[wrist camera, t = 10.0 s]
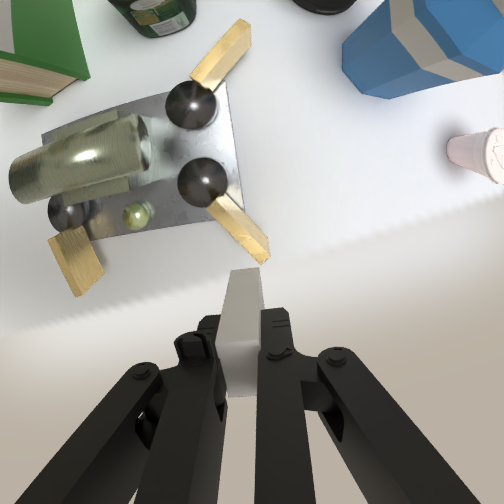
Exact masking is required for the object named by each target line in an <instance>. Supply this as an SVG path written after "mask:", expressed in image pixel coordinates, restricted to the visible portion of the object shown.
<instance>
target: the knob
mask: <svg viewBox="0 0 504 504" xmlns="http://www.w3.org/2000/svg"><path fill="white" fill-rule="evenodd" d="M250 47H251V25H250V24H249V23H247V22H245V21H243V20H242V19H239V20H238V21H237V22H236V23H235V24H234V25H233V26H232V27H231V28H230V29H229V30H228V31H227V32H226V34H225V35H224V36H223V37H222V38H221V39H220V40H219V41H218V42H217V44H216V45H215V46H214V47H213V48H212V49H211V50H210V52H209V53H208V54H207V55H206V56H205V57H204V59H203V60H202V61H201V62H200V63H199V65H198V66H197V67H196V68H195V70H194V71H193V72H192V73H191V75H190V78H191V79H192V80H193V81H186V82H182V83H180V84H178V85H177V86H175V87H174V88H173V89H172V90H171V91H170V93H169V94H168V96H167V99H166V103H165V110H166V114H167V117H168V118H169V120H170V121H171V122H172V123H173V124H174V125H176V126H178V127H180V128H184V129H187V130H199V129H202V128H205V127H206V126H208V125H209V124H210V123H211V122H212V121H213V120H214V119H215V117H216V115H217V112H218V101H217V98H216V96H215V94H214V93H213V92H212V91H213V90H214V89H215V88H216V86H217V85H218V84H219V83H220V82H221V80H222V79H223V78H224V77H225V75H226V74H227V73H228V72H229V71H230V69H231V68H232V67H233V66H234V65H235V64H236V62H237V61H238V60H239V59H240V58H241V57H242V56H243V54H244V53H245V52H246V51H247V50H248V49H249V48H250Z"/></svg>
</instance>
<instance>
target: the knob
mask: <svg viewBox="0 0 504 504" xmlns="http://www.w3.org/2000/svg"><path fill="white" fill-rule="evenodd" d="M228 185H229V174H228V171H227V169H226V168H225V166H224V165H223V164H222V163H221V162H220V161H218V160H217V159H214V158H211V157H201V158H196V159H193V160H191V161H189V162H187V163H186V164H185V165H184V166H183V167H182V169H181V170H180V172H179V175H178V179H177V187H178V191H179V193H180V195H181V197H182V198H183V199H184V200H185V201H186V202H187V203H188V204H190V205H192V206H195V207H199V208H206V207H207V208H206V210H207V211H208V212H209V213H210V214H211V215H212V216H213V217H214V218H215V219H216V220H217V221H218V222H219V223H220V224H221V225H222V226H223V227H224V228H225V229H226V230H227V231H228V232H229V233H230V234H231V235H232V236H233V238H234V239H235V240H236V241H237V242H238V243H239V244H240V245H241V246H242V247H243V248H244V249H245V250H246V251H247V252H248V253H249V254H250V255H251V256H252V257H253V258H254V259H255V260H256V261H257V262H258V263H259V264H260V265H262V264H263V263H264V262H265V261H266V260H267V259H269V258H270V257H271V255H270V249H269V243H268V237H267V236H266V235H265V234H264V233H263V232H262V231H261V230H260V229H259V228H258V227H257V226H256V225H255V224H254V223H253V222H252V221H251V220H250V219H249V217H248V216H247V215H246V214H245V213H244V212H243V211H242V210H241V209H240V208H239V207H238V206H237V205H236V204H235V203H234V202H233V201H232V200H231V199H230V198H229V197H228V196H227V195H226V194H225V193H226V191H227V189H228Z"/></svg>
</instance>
